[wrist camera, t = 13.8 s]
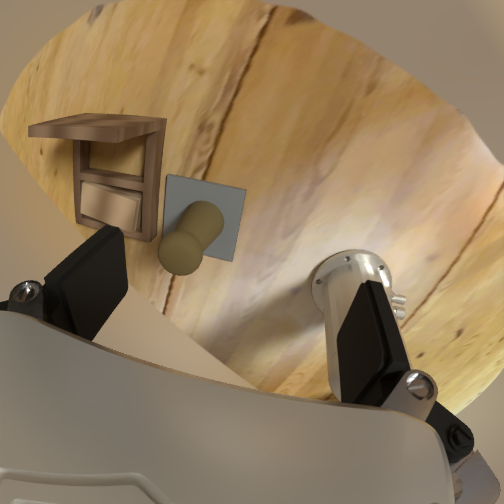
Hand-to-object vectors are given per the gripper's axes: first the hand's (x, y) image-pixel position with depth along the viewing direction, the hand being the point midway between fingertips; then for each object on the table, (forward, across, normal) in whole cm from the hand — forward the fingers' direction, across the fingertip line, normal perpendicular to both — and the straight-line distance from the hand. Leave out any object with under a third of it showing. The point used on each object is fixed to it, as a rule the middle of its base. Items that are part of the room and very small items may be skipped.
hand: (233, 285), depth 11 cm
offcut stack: (+28, +23, +10) cm, 38 cm away
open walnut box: (+28, +23, +6) cm, 36 cm away
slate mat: (+28, +9, +11) cm, 31 cm away
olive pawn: (+28, +8, +11) cm, 31 cm away
